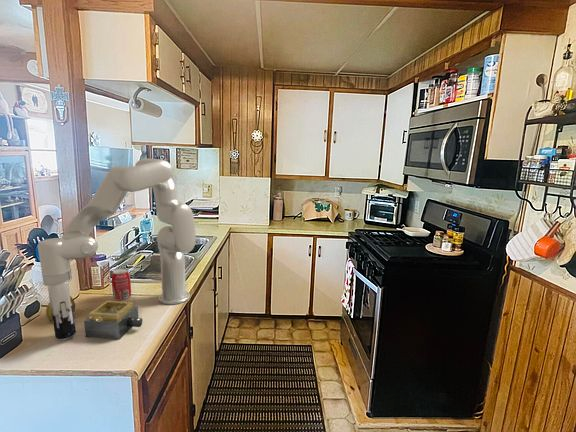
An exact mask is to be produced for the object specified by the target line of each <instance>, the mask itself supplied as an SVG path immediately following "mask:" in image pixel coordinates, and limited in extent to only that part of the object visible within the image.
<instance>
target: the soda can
mask: <svg viewBox="0 0 576 432" xmlns="http://www.w3.org/2000/svg"><path fill="white" fill-rule="evenodd" d="M111 289H112V290H111V291H112V296H113V299H114V300H116V301H124V300H127V299H129V297H131V296H132V283H131V273H130V272H129V270H128V269H127V268H117V269H115V270H113V271H112V275H111Z"/></svg>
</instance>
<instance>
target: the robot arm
mask: <svg viewBox="0 0 576 432" xmlns="http://www.w3.org/2000/svg"><path fill="white" fill-rule="evenodd" d="M172 176H173V166H172V165H171V164H170V162H168V161H167V160H164V159H160V158H159V159H158V158H141V159H139V160H137V161H136V163H135V165H133V166H125V165H124V166H123V165H121V166H120V165H118V166H114V167H112V168H110V169H109V170H108V172H107V173H106V175H105V176H104V178H103V180H102V181H101V183H100V185H99V187H98V188H97V189H96V192H95V193H94V194H93V196H92V197H91V199H90V200H89V202H88V203H87V204H86V205H85V206H84V207H83V208H82V209H81V210H80V211H78V212H77V214H76V215H75V216H74V217H73V219H71V221H70V222H69V224H68V226H67V228H66V229H65V230H64V232H63V235H62V236H61V237H53V238H46V239H43V240H41V241H40V242H39V243H38V244H37V249H38V251H37V252H38V256H39V263H40V270H41V275H42V283H43V285H44V286H46V287H47V293H48V298H49V302H50V307H51V311H52V314H53V316H56V315H58V316H59V322H60V323H59V329H60V334H65V333H68V332H71V331H72V325H71V319H70V316H69V312H70V311H71V300H70V296H71V293H70V286H69V282H71V281H72V280H73V273H72V268H71V261H73V260H81V259H86V258H90V257H93V256H94V255H95V254H96V253H97V251H98V248H99V244H98V241H96V239H95V238H94V237H92V236H90V234H91V232H92V231H93V230H94V228H96V226H97V225H99V223H100V222H102V221H104V220H105V219H108V218H110V217H112V216H113V215H115V214H116V213H117V211H118V210H119V208H120V206H121V204H122V202H123V200H124V198H125V197H126V196H127V194H128V192H129V193H135V192H140V191H143V190H147V189H149V188H152V191H153V194H154V202H155V208H156V209H155V210H156V215H157V219H158V220H159V222H161V223H163V224H166V225H165V226H163V227H162V228H160V230H158V232H157V235H156V241H157V242H156V243H157V247H158V249H159V250H158V251H159V257H160V258H159V259H160V277H161V294H160V295H159V296H158V301H159V302H160V303H161V304H163V305H177V304H182V303H184V302H186V301H188V300H189V298H190V297H191V296H190V292H189V291H188V290H187V288H186V287H187V285H188V282H187V281H186V263H185V262H186V261H185V259H186V257H185V254H188V253H190V252H191V251H193V249H194V248H195V245H196V241H197V237H196V226H195V224H196V223H195V219H194V218H195V217H194V212H193V210H192V208H191V207H190V206H189V205H188V204H186V203H184V202H182V201H181V202H180V201H179V197H178V196H179V195H178V192H177V187H176V183H175V181H174V180H173V178H172ZM66 310H67V311H66ZM60 311H62V313H60ZM61 315H62V317H61Z"/></svg>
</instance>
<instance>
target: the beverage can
mask: <svg viewBox="0 0 576 432" xmlns="http://www.w3.org/2000/svg"><path fill="white" fill-rule="evenodd" d="M66 311H67V310H66ZM51 312H52V311H51ZM60 313H62V311H60ZM74 315H75V314H74V313H73V306H72V304H71V311H70V312H69V316H70V319H71V325H72V331H71V332H68V333H65V334H60V329H59V323H60V322H59V316H58V315H56V316H53V314H52V319H53V321H52V325H53V330H54V338H55V339H56V340H59V341H66V340H70V339H71V338H72V337H74V335H75V334H76V333H77V331H76V330H77V328H76V323H75V321H76V320H75V316H74ZM61 317H62V315H61Z"/></svg>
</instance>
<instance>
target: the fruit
mask: <svg viewBox="0 0 576 432" xmlns="http://www.w3.org/2000/svg"><path fill="white" fill-rule="evenodd" d="M70 300H71V304H72V306H73V314H74V313H75V311H76V302H75V300H74V298H73V297H72V296H71V295H70ZM45 313H46V316H47V318H48V319H49V320H50V321H52V322H53V319H52V312H51V307H50V301H49V302H48V304H47V306H46V308H45Z"/></svg>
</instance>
